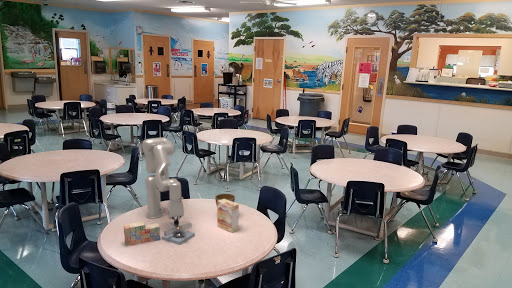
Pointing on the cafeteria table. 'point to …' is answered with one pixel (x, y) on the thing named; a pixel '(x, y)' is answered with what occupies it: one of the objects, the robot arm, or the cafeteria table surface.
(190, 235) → the stand
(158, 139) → the robot arm
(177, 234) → the capstan
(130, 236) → the stack of blocks
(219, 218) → the coffeecake box
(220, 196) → the plant pot
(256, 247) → the cafeteria table surface
